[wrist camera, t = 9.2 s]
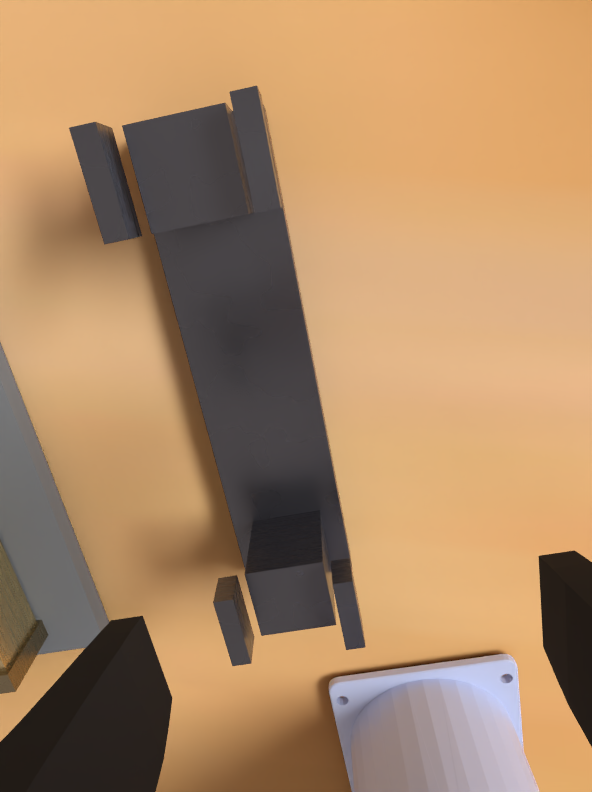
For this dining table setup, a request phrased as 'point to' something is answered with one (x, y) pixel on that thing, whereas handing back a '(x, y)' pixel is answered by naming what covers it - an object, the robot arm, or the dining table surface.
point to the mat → (42, 532)
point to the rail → (16, 629)
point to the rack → (240, 352)
